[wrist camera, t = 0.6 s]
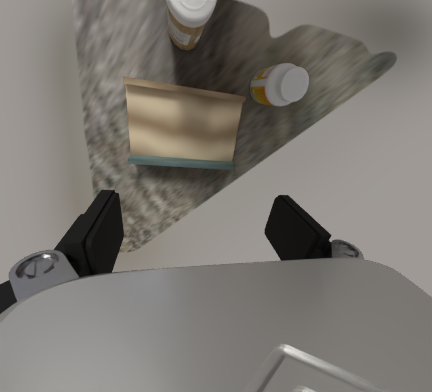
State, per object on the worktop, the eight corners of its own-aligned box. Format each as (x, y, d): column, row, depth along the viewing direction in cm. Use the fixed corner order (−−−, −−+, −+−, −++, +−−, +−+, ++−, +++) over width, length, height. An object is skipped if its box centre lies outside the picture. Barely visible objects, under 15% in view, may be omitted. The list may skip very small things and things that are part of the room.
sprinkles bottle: (205, 41, 28) (227, 6, 16) (178, 56, 28) (181, 32, 16) (190, 2, 25) (204, -72, 14) (161, 18, 26) (151, -41, 14)
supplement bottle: (273, 106, 34) (305, 111, 26) (246, 101, 33) (270, 104, 25) (282, 71, 32) (321, 65, 23) (253, 64, 30) (283, 54, 22)
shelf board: (127, 77, 28) (120, 75, 24) (240, 96, 32) (249, 96, 28) (133, 155, 34) (128, 163, 30) (228, 162, 38) (234, 170, 34)
